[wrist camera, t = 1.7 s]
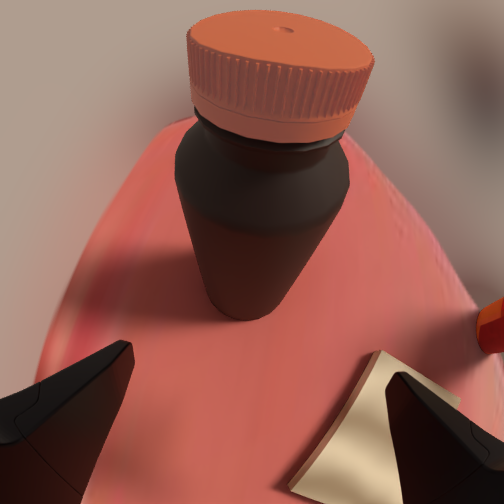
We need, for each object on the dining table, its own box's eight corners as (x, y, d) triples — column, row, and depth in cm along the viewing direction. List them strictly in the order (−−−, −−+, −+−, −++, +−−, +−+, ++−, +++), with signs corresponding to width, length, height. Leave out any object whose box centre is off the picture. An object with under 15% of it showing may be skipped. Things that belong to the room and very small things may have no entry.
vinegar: (299, 275, 24) (423, 60, 6) (253, 338, 21) (363, 152, 3) (238, 232, 25) (254, -3, 7) (189, 288, 23) (98, 49, 5)
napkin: (383, 514, 14) (390, 519, 13) (287, 484, 16) (290, 490, 15) (451, 399, 19) (461, 399, 18) (374, 351, 21) (382, 349, 20)
